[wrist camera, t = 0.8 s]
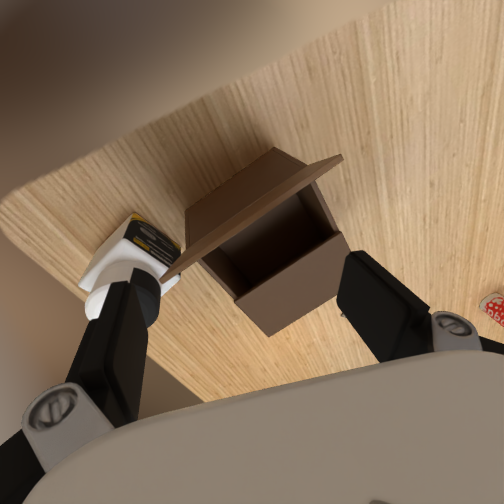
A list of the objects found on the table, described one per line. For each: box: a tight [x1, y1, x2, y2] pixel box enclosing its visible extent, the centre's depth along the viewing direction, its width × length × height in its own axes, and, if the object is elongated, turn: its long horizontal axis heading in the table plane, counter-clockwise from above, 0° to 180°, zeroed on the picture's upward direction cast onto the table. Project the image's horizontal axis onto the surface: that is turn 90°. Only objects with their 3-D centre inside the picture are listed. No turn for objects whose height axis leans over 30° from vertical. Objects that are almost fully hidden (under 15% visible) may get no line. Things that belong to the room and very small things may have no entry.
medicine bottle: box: [78, 213, 181, 328], centre depth 28 cm, size 7×7×12 cm
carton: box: [185, 147, 351, 337], centre depth 31 cm, size 15×13×10 cm
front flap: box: [159, 154, 344, 284], centre depth 19 cm, size 7×13×1 cm
